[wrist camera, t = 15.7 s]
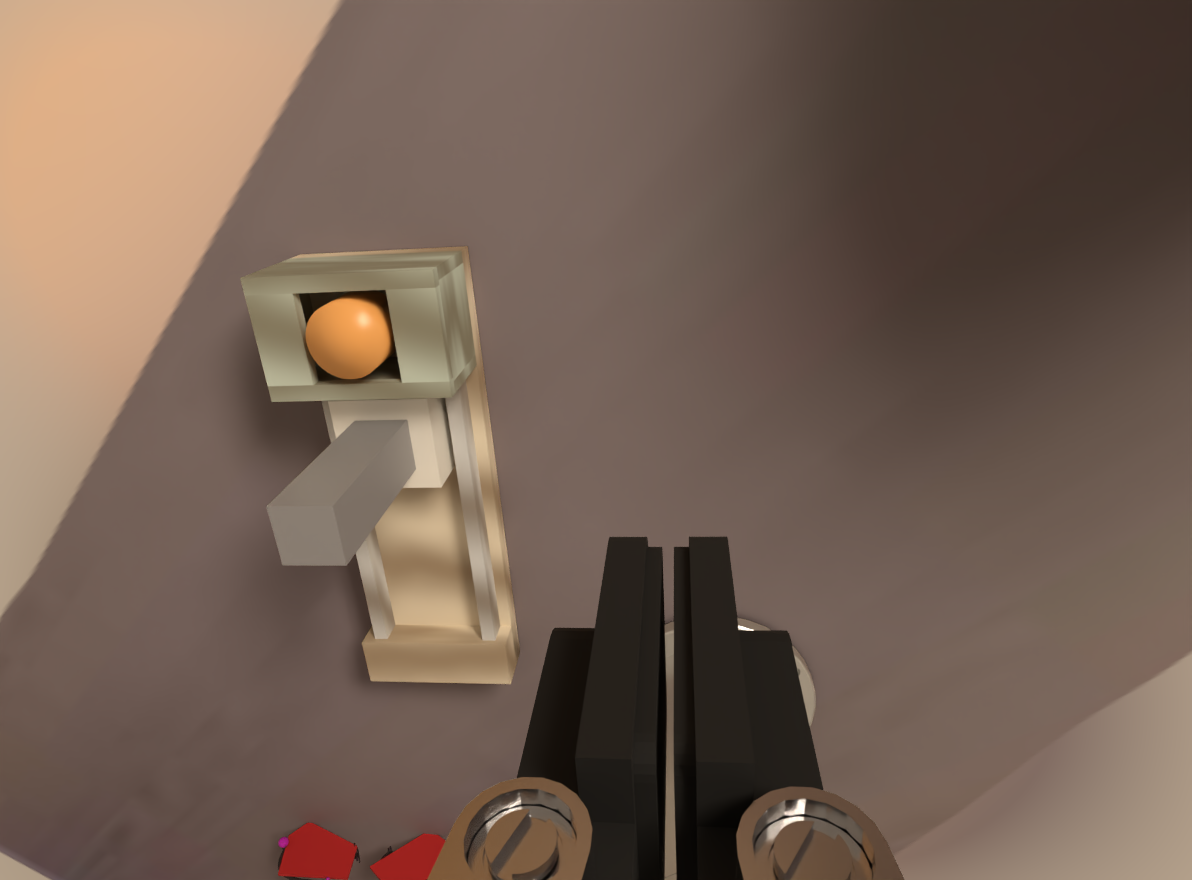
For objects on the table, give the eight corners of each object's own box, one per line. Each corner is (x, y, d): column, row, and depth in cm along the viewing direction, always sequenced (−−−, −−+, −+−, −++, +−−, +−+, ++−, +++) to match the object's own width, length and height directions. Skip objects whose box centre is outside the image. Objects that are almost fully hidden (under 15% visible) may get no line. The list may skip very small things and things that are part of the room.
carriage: (454, 465, 41) (379, 588, 31) (365, 467, 42) (261, 587, 31) (441, 381, 39) (356, 481, 29) (348, 383, 40) (231, 482, 29)
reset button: (410, 358, 37) (388, 378, 34) (341, 360, 37) (314, 380, 35) (397, 286, 36) (374, 301, 33) (326, 289, 36) (297, 304, 33)
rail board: (519, 651, 48) (500, 720, 43) (387, 649, 49) (351, 716, 44) (467, 246, 38) (432, 269, 32) (301, 254, 39) (240, 277, 34)
